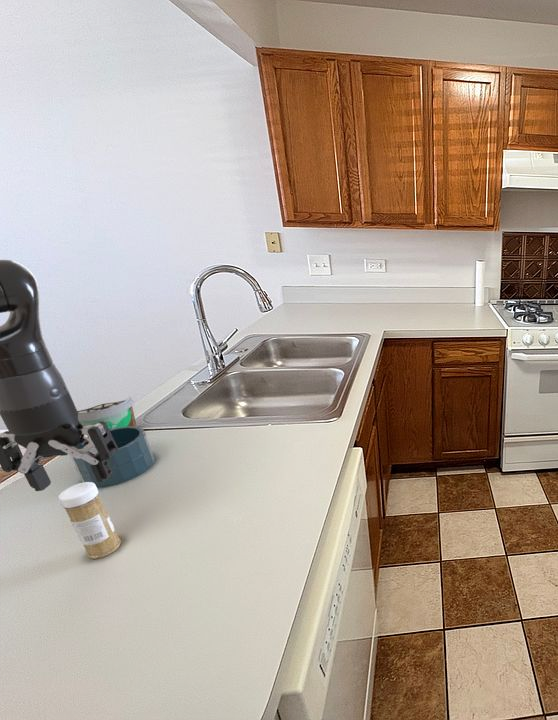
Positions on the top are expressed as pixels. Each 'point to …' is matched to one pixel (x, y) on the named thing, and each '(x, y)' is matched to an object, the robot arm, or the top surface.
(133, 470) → the pot
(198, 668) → the top surface
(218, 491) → the top surface
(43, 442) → the robot arm
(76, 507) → the sprinkles bottle
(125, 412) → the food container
